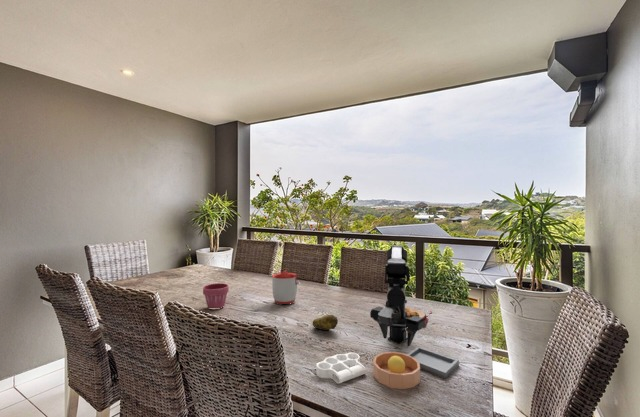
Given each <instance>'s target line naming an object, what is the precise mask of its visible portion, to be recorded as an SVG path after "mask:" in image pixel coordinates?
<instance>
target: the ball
mask: <svg viewBox="0 0 640 417" xmlns="http://www.w3.org/2000/svg"><path fill="white" fill-rule="evenodd" d="M388 369H389V370H390V372H391V373H398V374H402V373H403V372H404V370H405V362H404V360H403V359H402V358H401V357H399V356H392V357H391V358H390V359H389V360H388Z"/></svg>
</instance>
